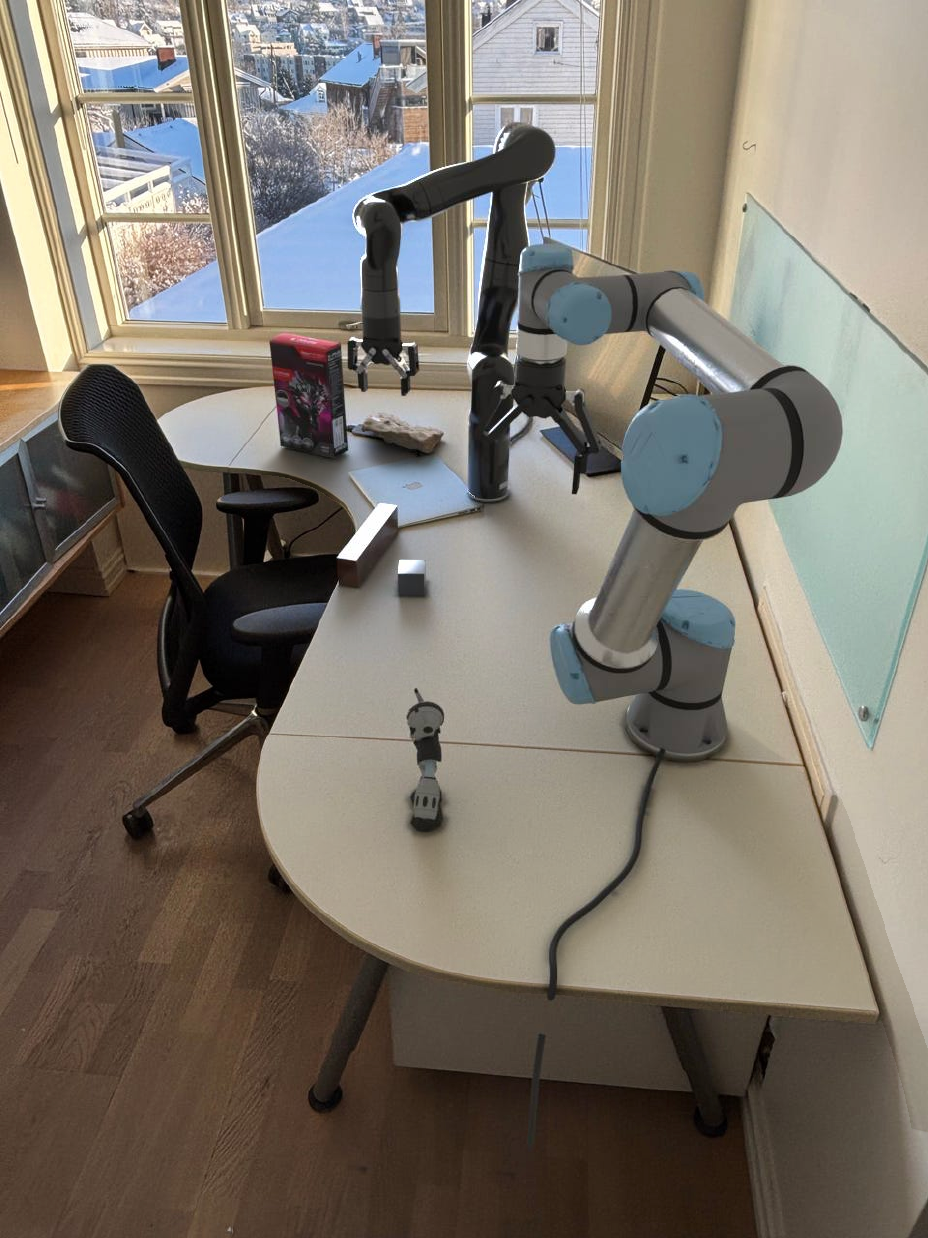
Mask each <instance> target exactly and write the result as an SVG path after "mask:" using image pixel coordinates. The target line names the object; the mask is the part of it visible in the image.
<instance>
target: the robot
mask: <svg viewBox="0 0 928 1238" xmlns="http://www.w3.org/2000/svg"><path fill="white" fill-rule="evenodd" d="M413 691H414V694H415V696H416V699H417V703H415V704H414V705H413V706H411V707H410V708H409V709H408V711H407V713H406V714H405V716H406V717H405V718H406V720H407V722H406V724H407V725H408V728H409V738H410V739H411V740H413V742H412V743H413V745H414V747H415V749H416V764H417V766H418V769H419V770H420V773H421V775H420V778H419V780H418V784H417V786H416V788H415V789H414V791H413V792H412V793H411V795H410V796H409V798H410V801H411V803H412V805H413V815H412V817H411V820H410V822H409V823H410V825H411V826H412V827H413V828H414V829H415V830H416V831H420V832H424V833H425V832H431V831H433V830H435V829H437V828H440V827H441V826H442V822H443V820H444V817H443V809H442V806H441V802H442V801H443V798H442V797H443V795H442V794H443V793H442V789H441V787H440V784H439V780H437V777H436V776H435V774H436V773H437V769H438V768H437V767H438V765H437V764H438V763H442V756H443V754H442V746H441V743H440V738H439V734H441V732H442V731H441V727H442V726H443V724H444V723H445V713H444V709H443V708H442V707H441V706H440V705H439V704H437V703H436V702H433V701H430V700H424V698H423V696H422V695H421V693H420V691H419V690H418V688H417V687H415V688H414V689H413ZM437 762H438V763H437Z"/></svg>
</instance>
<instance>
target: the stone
mask: <svg viewBox="0 0 928 1238" xmlns="http://www.w3.org/2000/svg"><path fill="white" fill-rule="evenodd" d="M360 430H361V432H363V433H365V432H371V433H373V435H374V436H376V437H378V438H382V439H383V441H384V442H385V443H388V444H392V443H394V444H395V445H398V446H400V447H404V448H406V449H410V450H416V451H417V450H418V451H420V452H422V453H426V454H431V453H432V452H433V451H434V449H435V446H436V445H437V444H438V443H439V442H440V441H441V440H442V438H443V437H444V432H443V431H442V430H439V429H438V428H434V427H431V426H422V425H417V424H409V423H408V422H406V421H404V420H400V419H399V417H397V416H396V417H395V416H394V415H393V414H388V413H384V412H379V413H377V414H369V415H368V416H366V419H365V420H364V421H363V423H362V425H361V427H360Z"/></svg>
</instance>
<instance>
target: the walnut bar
mask: <svg viewBox="0 0 928 1238" xmlns="http://www.w3.org/2000/svg"><path fill="white" fill-rule="evenodd" d="M398 509H399V508H398V505H397V504H388V503H382V502H379V503H378V504H377V506H376V507H375V508H374V509H373V511H372V512H371V513H370V515H369V516H368V517H367V518H366V519H365V520H364V522H363V523H362V525H361V526H360V527H359V528H358V530H357V531H356V532H355V534H354V535H353V536H352V537H351V539H350V540H348V543H347V544H346V545H345V546H344V548H343V549H342V550H341V552H340V553H339V554H338V556H336V567H337V569H336V570H337V580H338V585H339V586H344V587H345V586H346V587H352V588H357V589H358V588H359V587H360V586H361V584H362V583H363V581H364V580H365V578H366V577H367V576H368V574H369V573H370V571H371V570H372V569H373V567H374V566H375V564H377V562H378V561H379V559H380V557H382V554H383V553H384V552H385V550H386V548H387V547H388V546H389V544H391V542H392V540H393V539H394V537H395V536H396V535H397V533H398V532H399V513H398V511H399V510H398Z"/></svg>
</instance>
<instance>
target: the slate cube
mask: <svg viewBox="0 0 928 1238" xmlns="http://www.w3.org/2000/svg"><path fill="white" fill-rule="evenodd" d="M426 567H427V565H426V559H399V561H398V568H397V591H398V597H426V585H427V568H426Z"/></svg>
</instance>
